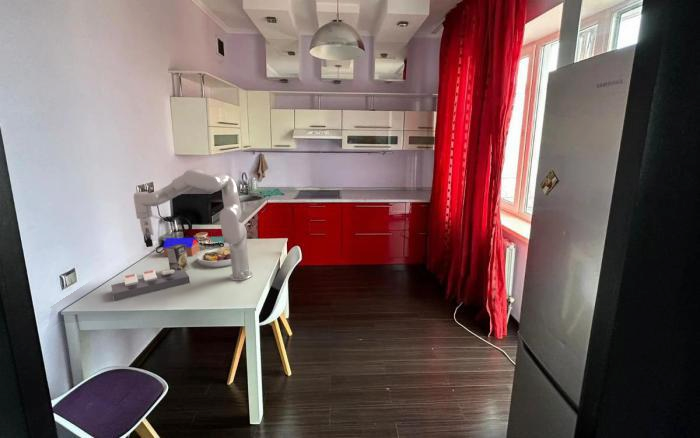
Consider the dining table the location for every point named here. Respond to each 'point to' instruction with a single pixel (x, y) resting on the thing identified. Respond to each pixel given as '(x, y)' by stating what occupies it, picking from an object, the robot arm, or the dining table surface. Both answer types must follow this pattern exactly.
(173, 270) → the rocker right
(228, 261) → the bowl
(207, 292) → the dining table surface
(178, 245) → the coffee box
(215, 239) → the cutlery set
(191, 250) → the house
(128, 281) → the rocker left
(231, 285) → the dining table surface
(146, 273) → the rocker middle
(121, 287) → the grey switch panel
